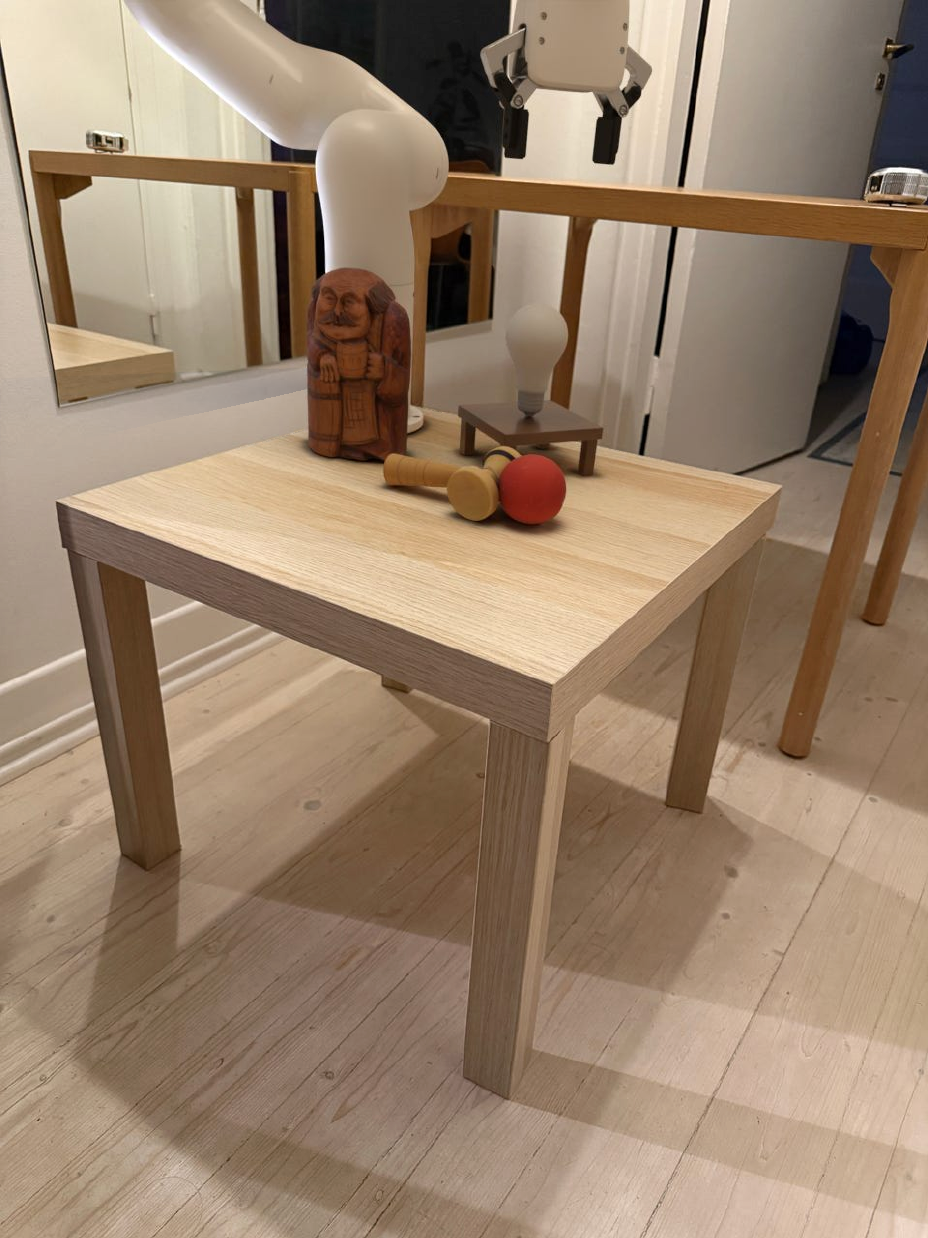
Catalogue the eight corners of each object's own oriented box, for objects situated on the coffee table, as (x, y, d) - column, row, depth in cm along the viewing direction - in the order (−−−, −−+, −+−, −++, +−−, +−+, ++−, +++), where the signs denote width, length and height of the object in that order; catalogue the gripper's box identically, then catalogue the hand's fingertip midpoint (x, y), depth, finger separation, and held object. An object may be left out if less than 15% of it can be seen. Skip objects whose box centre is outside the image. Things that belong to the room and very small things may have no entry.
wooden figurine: (289, 452, 94) (283, 266, 85) (314, 436, 99) (311, 260, 91) (398, 468, 91) (403, 278, 83) (417, 450, 97) (424, 271, 88)
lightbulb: (487, 411, 93) (495, 299, 88) (535, 405, 96) (545, 297, 91) (522, 426, 89) (533, 310, 84) (571, 420, 92) (584, 307, 87)
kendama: (364, 510, 84) (539, 532, 75) (365, 440, 82) (543, 454, 73) (412, 503, 90) (578, 522, 81) (414, 438, 89) (583, 450, 80)
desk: (455, 451, 97) (458, 404, 95) (545, 444, 102) (550, 399, 99) (501, 484, 88) (505, 434, 86) (597, 475, 93) (603, 427, 90)
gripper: (640, -41, 85) (615, 164, 93) (472, -70, 78) (460, 154, 86) (689, -53, 79) (657, 167, 87) (511, -85, 72) (494, 157, 80)
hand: (559, 160), depth 86 cm, fingers open, 9 cm apart
